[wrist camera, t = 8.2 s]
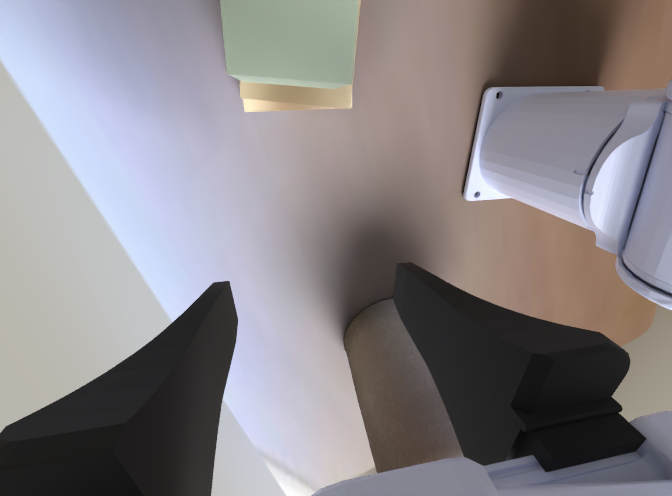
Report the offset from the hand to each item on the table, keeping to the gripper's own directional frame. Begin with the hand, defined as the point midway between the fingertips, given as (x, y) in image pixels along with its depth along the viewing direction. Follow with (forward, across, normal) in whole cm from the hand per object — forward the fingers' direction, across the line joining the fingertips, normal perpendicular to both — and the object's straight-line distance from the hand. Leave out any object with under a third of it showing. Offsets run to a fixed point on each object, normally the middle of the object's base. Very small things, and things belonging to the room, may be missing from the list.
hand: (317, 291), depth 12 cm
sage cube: (+5, 0, -10) cm, 11 cm away
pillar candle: (+11, -8, +14) cm, 19 cm away
